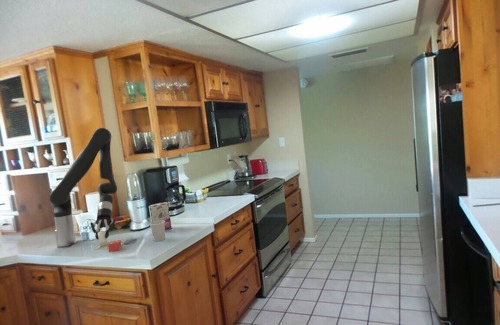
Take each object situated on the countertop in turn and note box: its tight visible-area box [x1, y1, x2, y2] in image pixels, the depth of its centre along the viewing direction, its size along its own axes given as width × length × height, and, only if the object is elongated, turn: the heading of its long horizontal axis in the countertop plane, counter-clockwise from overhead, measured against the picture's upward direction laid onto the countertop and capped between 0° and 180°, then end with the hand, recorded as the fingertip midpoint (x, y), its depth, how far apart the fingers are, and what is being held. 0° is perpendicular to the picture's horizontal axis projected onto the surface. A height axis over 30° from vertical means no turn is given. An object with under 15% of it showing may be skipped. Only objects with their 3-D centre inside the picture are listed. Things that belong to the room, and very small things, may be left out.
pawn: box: [98, 230, 108, 247], centre depth 182 cm, size 4×4×8 cm
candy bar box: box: [148, 201, 172, 231], centre depth 207 cm, size 11×5×16 cm, turn 117°
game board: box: [94, 237, 139, 251], centre depth 184 cm, size 21×12×1 cm, turn 99°
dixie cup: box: [149, 220, 166, 242], centre depth 187 cm, size 8×8×10 cm
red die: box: [108, 239, 122, 252], centre depth 174 cm, size 5×5×5 cm
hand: (101, 238), depth 181 cm, fingers closed on pawn, 4 cm apart
